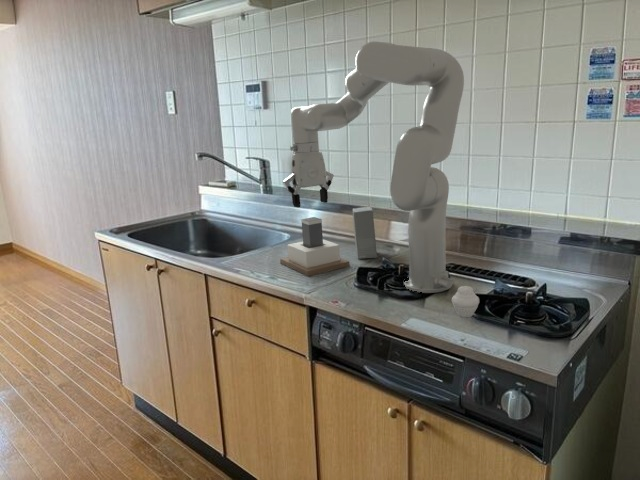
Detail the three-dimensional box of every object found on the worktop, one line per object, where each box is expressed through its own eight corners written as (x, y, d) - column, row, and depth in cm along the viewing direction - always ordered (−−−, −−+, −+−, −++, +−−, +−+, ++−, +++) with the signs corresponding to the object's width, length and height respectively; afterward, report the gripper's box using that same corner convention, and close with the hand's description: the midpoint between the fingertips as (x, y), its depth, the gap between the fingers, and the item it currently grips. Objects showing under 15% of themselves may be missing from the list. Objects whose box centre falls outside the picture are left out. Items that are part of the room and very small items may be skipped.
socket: (349, 265, 158) (348, 245, 157) (307, 276, 151) (306, 255, 149) (319, 254, 173) (318, 235, 172) (280, 262, 166) (278, 243, 164)
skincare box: (377, 258, 164) (375, 210, 160) (355, 259, 164) (353, 211, 161) (375, 251, 172) (373, 205, 168) (354, 252, 173) (351, 206, 169)
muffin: (465, 307, 120) (466, 279, 119) (485, 315, 115) (485, 286, 114) (445, 313, 118) (445, 284, 116) (464, 322, 112) (464, 292, 111)
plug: (323, 247, 160) (321, 219, 158) (310, 249, 158) (308, 221, 155) (315, 244, 164) (314, 216, 162) (303, 246, 162) (301, 219, 159)
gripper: (286, 151, 146) (291, 210, 150) (337, 146, 154) (340, 201, 158) (275, 151, 152) (280, 207, 156) (324, 145, 160) (328, 199, 165)
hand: (310, 204), depth 157 cm, fingers open, 9 cm apart
